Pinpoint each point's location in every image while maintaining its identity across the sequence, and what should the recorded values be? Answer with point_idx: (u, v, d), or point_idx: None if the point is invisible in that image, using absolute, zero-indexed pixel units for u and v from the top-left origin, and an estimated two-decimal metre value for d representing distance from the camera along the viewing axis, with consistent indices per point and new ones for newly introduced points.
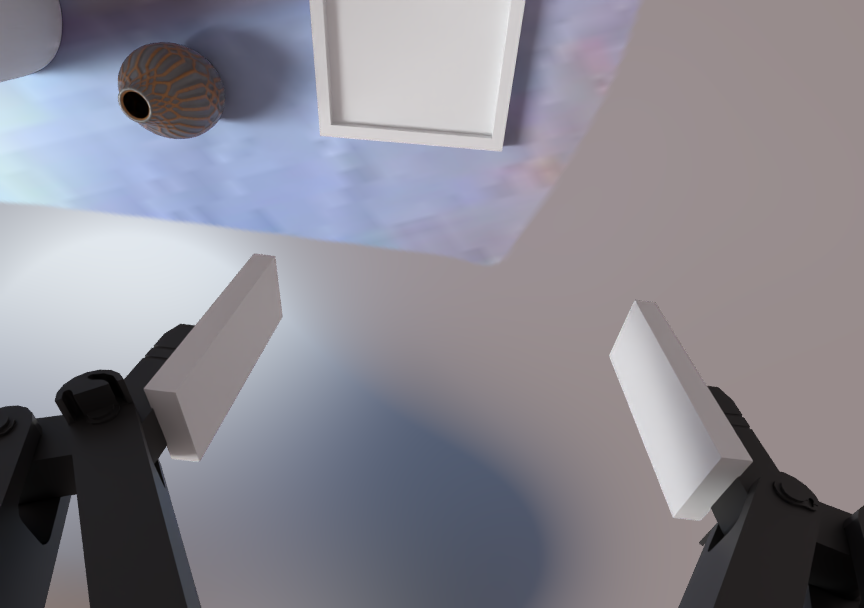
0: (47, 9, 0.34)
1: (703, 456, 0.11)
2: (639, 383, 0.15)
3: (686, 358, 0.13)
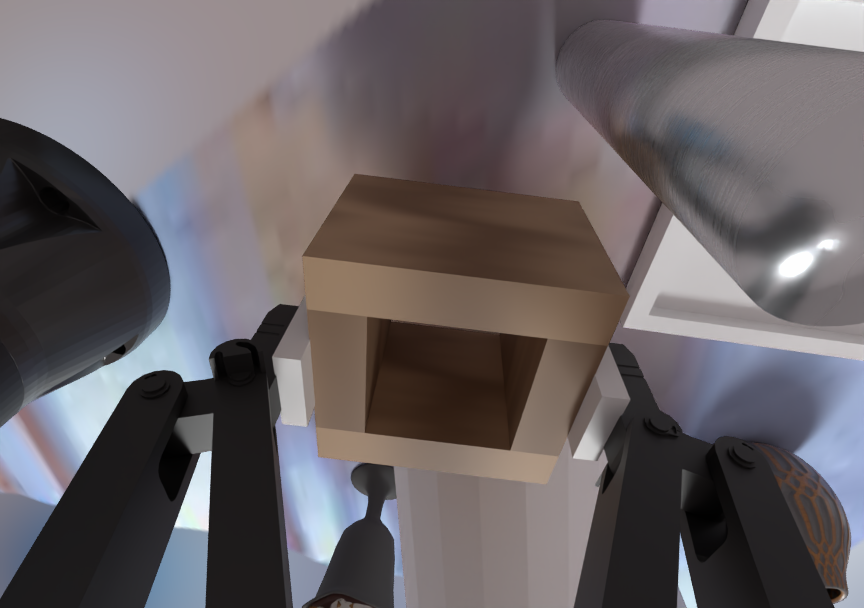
0: None
1: (592, 398, 0.12)
2: None
3: None
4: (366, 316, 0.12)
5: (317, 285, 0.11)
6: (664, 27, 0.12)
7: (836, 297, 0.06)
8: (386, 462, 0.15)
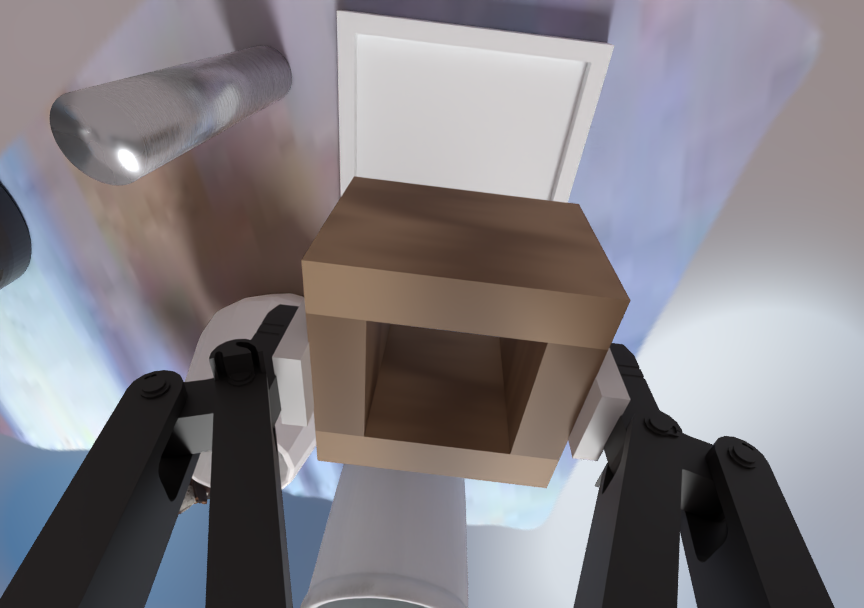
0: None
1: (592, 398, 0.12)
2: None
3: None
4: (365, 320, 0.11)
5: (316, 289, 0.11)
6: (206, 59, 0.22)
7: (112, 172, 0.16)
8: (385, 466, 0.15)
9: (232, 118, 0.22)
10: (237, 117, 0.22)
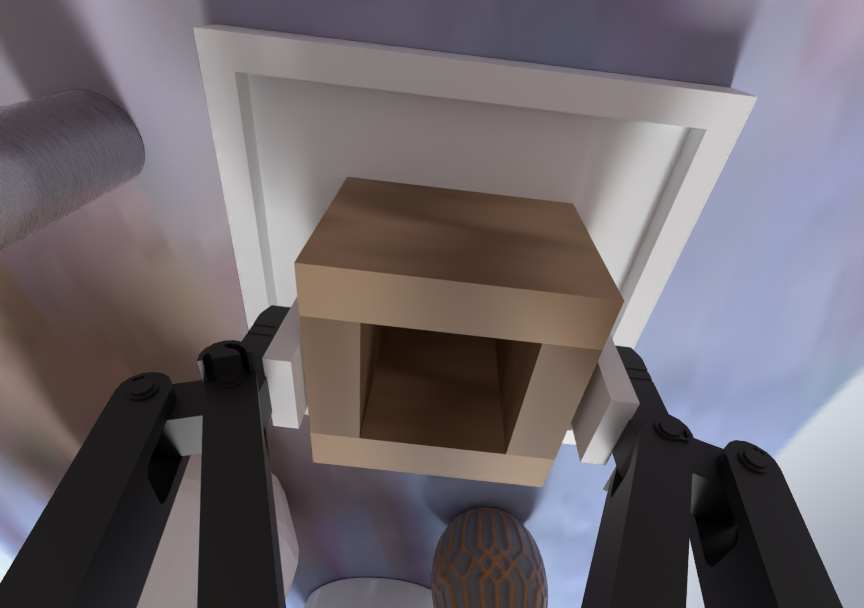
0: (401, 602, 0.34)
1: (600, 402, 0.12)
2: None
3: None
4: (359, 322, 0.11)
5: (309, 292, 0.11)
6: None
7: None
8: (381, 467, 0.15)
9: None
10: None
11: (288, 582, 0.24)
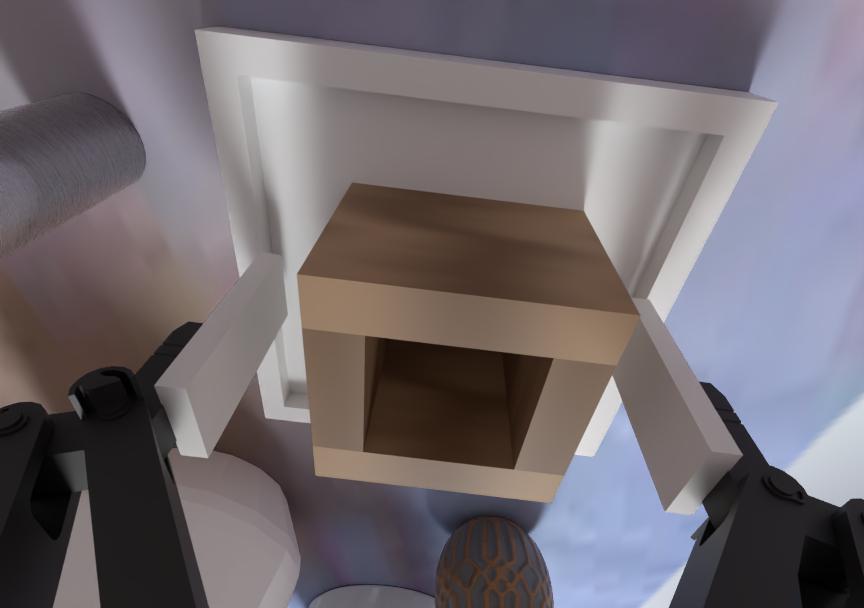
0: None
1: (694, 450, 0.11)
2: (632, 379, 0.15)
3: (678, 354, 0.13)
4: (364, 335, 0.11)
5: (313, 304, 0.11)
6: None
7: None
8: (385, 481, 0.15)
9: None
10: None
11: (289, 592, 0.24)
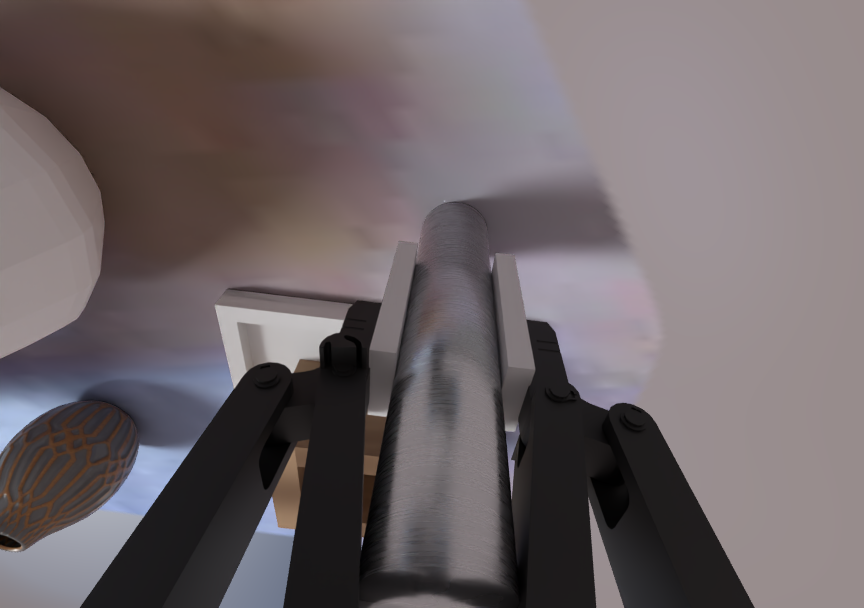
0: None
1: (503, 370, 0.13)
2: None
3: (518, 296, 0.15)
4: None
5: None
6: None
7: (378, 602, 0.08)
8: None
9: None
10: None
11: None
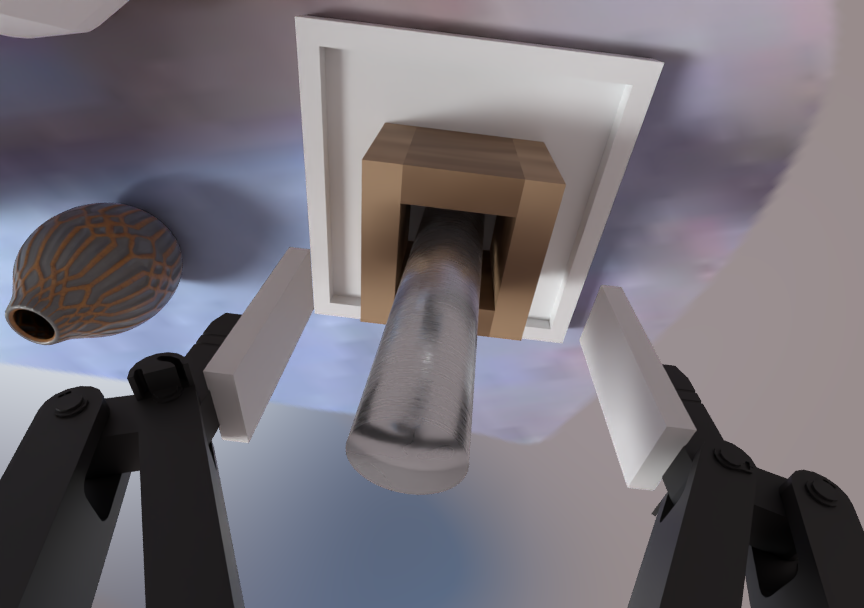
0: None
1: (652, 427, 0.12)
2: (602, 364, 0.15)
3: (644, 338, 0.14)
4: (516, 217, 0.18)
5: (543, 190, 0.17)
6: None
7: (364, 454, 0.11)
8: (364, 216, 0.18)
9: None
10: None
11: (6, 35, 0.17)
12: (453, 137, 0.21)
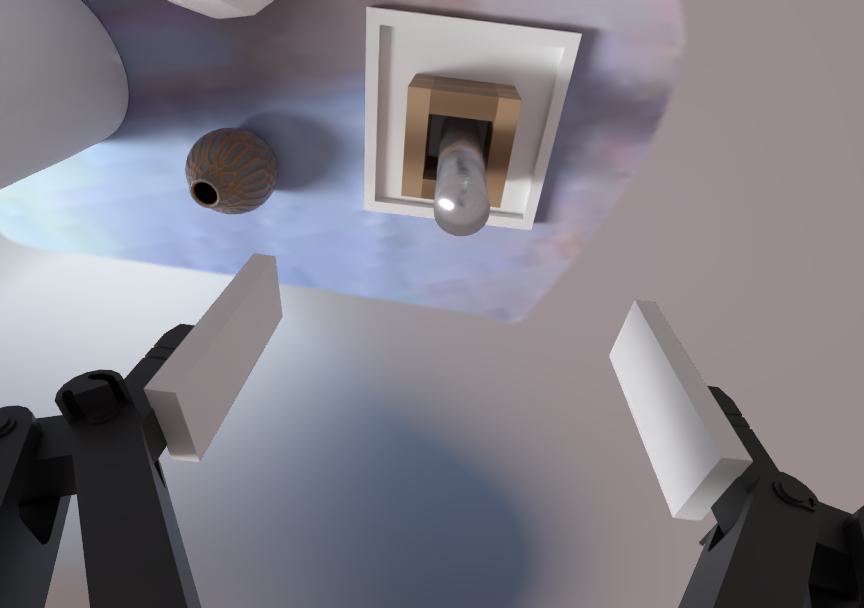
0: (118, 92, 0.37)
1: (703, 456, 0.11)
2: (639, 383, 0.15)
3: (686, 358, 0.13)
4: (495, 121, 0.31)
5: (509, 104, 0.31)
6: None
7: (442, 210, 0.25)
8: (407, 122, 0.32)
9: None
10: None
11: (212, 16, 0.30)
12: (458, 81, 0.34)
